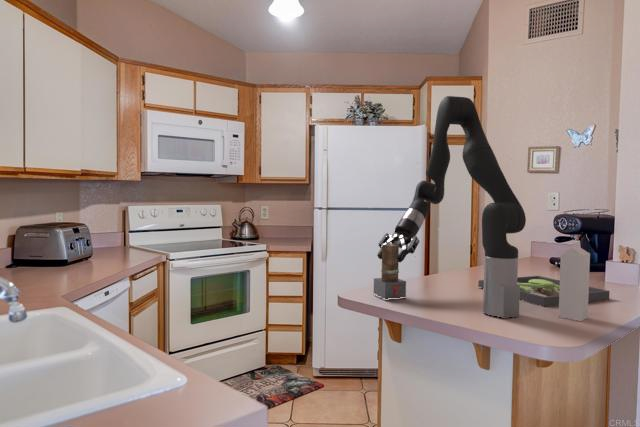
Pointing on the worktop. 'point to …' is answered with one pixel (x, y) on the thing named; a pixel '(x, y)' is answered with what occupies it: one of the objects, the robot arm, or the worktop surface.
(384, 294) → the block
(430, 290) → the worktop surface
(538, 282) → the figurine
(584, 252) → the milk
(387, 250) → the column
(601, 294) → the dark gray tray
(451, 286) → the worktop surface
